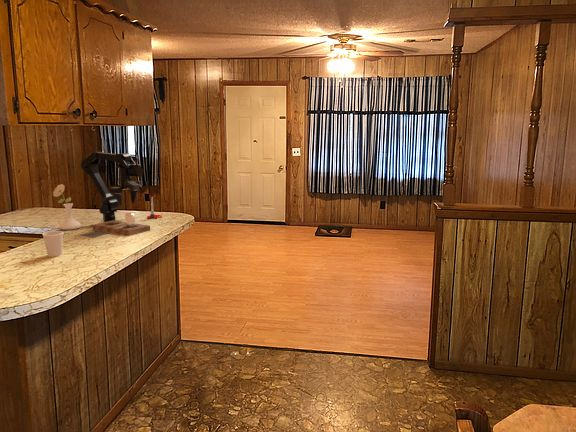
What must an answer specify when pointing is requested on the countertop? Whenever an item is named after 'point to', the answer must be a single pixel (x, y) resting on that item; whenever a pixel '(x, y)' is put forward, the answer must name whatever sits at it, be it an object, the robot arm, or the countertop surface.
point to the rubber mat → (94, 234)
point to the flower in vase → (69, 221)
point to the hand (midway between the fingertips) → (127, 204)
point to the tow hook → (153, 211)
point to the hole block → (120, 227)
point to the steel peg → (130, 220)
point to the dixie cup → (53, 242)
